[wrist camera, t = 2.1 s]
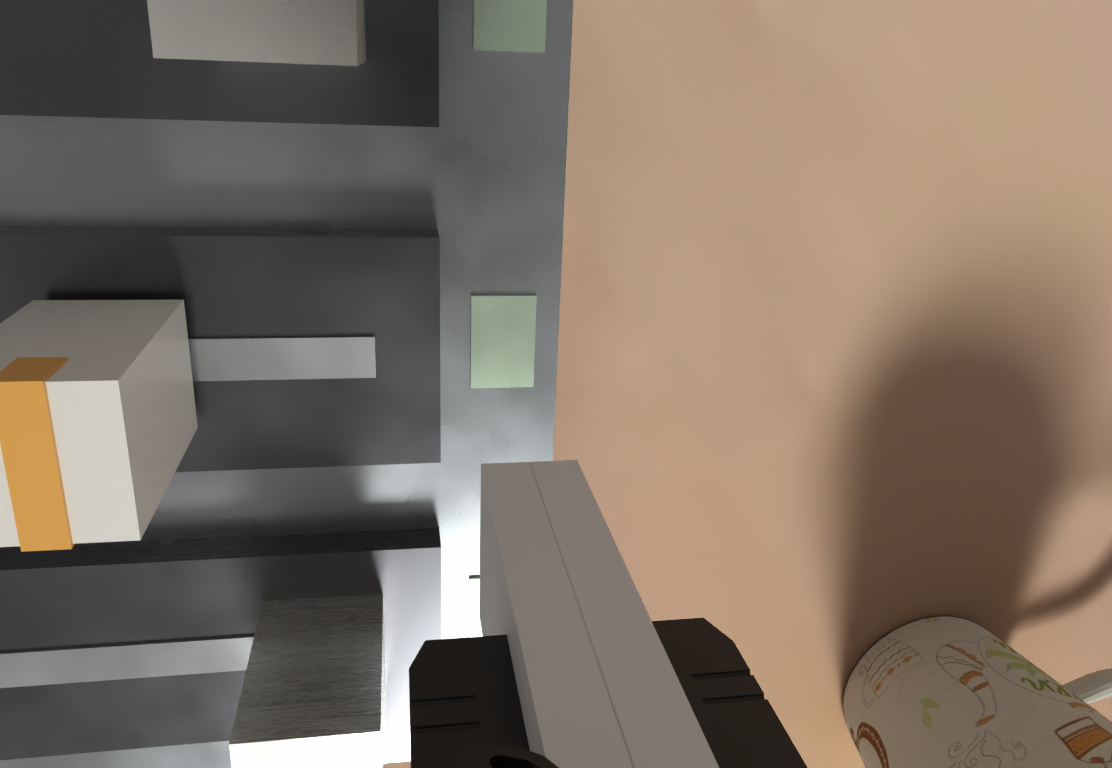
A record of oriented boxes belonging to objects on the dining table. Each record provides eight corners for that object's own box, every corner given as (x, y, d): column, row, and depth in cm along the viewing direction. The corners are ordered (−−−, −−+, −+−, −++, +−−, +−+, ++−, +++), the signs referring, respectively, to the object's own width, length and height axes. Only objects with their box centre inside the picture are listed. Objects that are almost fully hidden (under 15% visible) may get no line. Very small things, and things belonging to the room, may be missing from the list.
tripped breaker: (32, 298, 19) (-90, 383, 14) (183, 297, 19) (115, 379, 14) (55, 433, 20) (-50, 555, 15) (197, 429, 20) (139, 545, 16)
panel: (-506, -355, 16) (-1244, -683, 9) (567, -246, 20) (670, -416, 12) (-163, 761, 25) (-390, 1055, 18) (530, 703, 29) (577, 930, 22)
